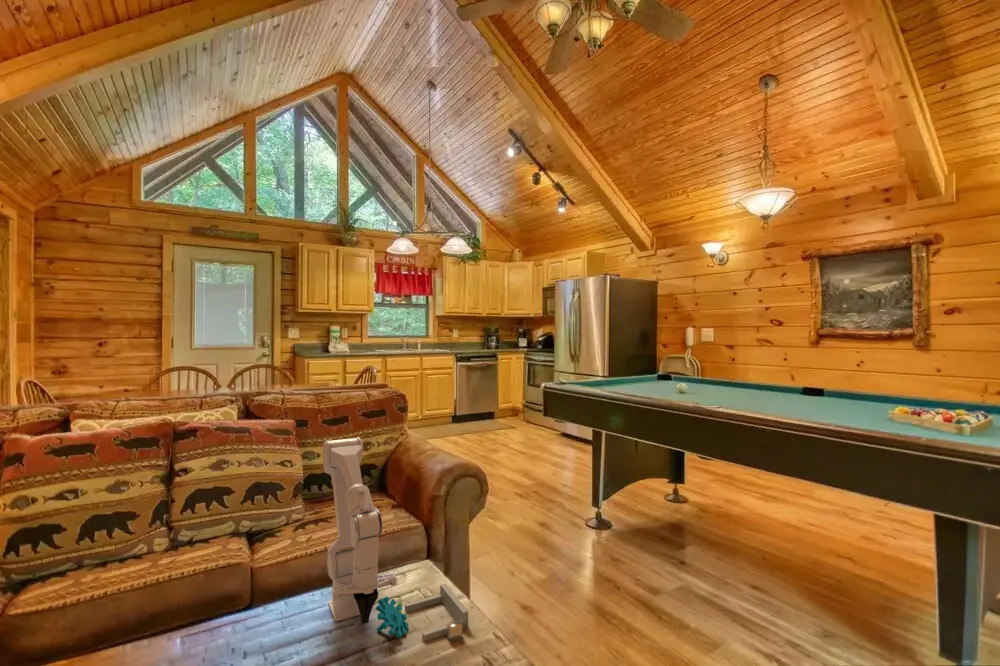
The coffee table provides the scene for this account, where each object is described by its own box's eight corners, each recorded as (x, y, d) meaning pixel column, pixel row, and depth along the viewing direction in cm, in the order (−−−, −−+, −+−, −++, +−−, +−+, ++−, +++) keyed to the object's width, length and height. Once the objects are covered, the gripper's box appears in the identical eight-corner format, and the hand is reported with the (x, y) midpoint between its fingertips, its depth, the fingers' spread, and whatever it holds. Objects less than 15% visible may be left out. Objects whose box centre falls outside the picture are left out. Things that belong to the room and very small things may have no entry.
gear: (400, 641, 109) (374, 605, 111) (381, 658, 109) (356, 622, 112) (417, 619, 120) (392, 587, 122) (400, 635, 120) (376, 602, 122)
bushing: (444, 635, 114) (444, 622, 114) (458, 630, 116) (458, 618, 116) (450, 643, 111) (450, 631, 111) (464, 639, 113) (464, 626, 113)
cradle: (404, 609, 124) (404, 594, 124) (445, 598, 130) (445, 583, 130) (424, 641, 112) (424, 624, 112) (468, 627, 117) (468, 611, 117)
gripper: (336, 579, 105) (335, 640, 105) (400, 564, 112) (399, 621, 112) (330, 565, 111) (329, 623, 111) (391, 551, 118) (390, 606, 118)
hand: (364, 621), depth 112 cm, fingers closed
